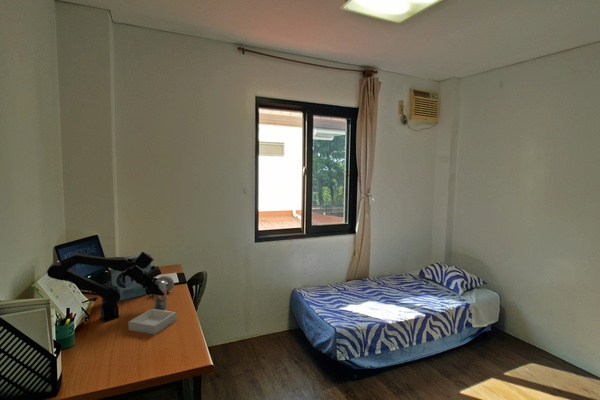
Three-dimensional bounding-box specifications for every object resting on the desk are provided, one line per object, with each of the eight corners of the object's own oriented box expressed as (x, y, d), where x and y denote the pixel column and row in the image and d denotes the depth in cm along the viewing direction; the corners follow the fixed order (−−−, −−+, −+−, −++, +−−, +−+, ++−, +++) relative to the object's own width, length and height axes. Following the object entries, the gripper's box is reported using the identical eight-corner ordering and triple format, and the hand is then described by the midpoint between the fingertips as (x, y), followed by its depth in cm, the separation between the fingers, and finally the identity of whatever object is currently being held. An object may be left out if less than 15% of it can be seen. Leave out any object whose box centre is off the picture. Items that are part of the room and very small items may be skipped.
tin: (158, 311, 157) (157, 284, 156) (152, 308, 161) (151, 281, 159) (169, 307, 162) (168, 281, 161) (162, 304, 165) (161, 278, 164)
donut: (155, 294, 179) (154, 277, 178) (155, 292, 182) (155, 275, 181) (174, 292, 183) (173, 275, 182) (174, 290, 186) (173, 273, 185)
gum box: (149, 291, 184) (148, 252, 182) (152, 293, 181) (151, 254, 179) (112, 300, 171) (110, 258, 169) (114, 302, 167) (112, 260, 165)
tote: (154, 334, 134) (154, 326, 134) (128, 330, 138) (128, 321, 138) (176, 320, 148) (176, 312, 147) (152, 316, 152) (151, 308, 151)
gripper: (152, 267, 149) (177, 286, 156) (149, 258, 165) (171, 275, 172) (134, 286, 146) (161, 304, 153) (132, 275, 162) (156, 292, 169)
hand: (163, 293), depth 161 cm, fingers closed on tin, 6 cm apart
